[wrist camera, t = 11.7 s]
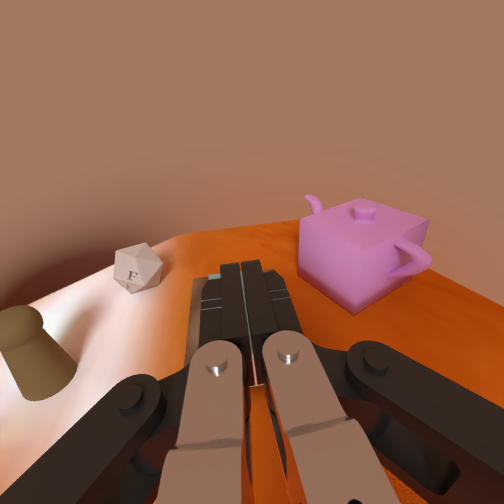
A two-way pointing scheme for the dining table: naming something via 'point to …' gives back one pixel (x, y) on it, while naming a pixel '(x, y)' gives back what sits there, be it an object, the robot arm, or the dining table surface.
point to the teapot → (360, 251)
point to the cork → (33, 354)
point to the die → (137, 268)
